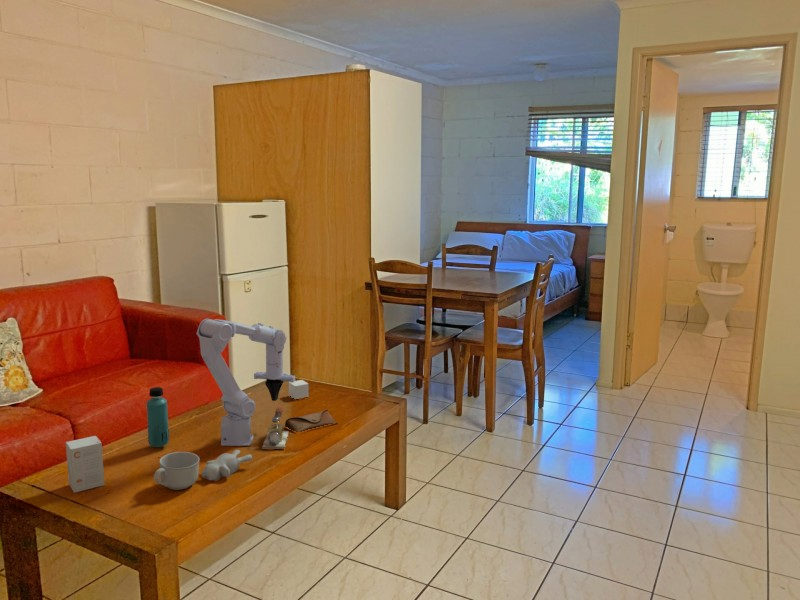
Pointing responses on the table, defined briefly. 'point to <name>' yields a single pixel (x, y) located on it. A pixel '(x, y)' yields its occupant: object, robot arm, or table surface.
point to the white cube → (298, 389)
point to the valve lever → (277, 415)
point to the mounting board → (279, 445)
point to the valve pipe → (275, 433)
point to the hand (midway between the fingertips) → (274, 399)
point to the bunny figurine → (224, 465)
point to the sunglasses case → (309, 421)
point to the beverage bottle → (157, 418)
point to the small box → (85, 463)
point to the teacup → (178, 470)
